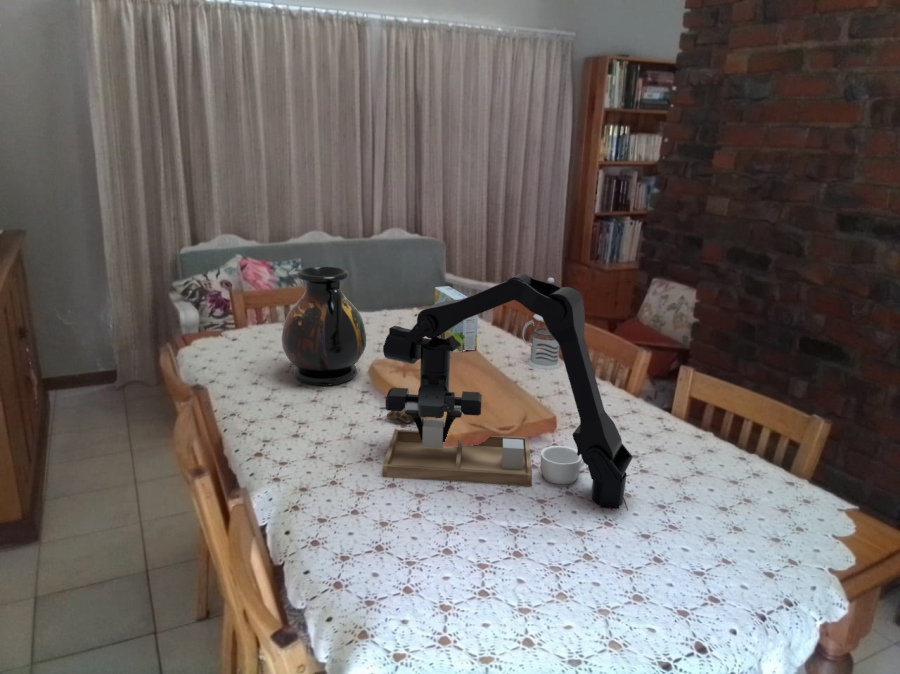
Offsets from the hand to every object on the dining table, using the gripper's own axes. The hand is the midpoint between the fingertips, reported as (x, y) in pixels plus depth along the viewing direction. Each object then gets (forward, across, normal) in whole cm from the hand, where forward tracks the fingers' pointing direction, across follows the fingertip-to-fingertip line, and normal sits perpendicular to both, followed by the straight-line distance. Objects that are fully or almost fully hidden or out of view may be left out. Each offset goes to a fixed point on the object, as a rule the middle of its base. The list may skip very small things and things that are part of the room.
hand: (433, 440), depth 138 cm
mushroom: (+4, -8, +16) cm, 18 cm away
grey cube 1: (+1, 0, 0) cm, 1 cm away
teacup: (+4, +26, -6) cm, 27 cm away
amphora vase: (+4, -32, +41) cm, 52 cm away
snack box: (+4, 0, +76) cm, 76 cm away
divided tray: (+4, +6, -3) cm, 7 cm away
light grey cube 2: (+3, +16, -3) cm, 17 cm away
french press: (+4, +26, +60) cm, 65 cm away
